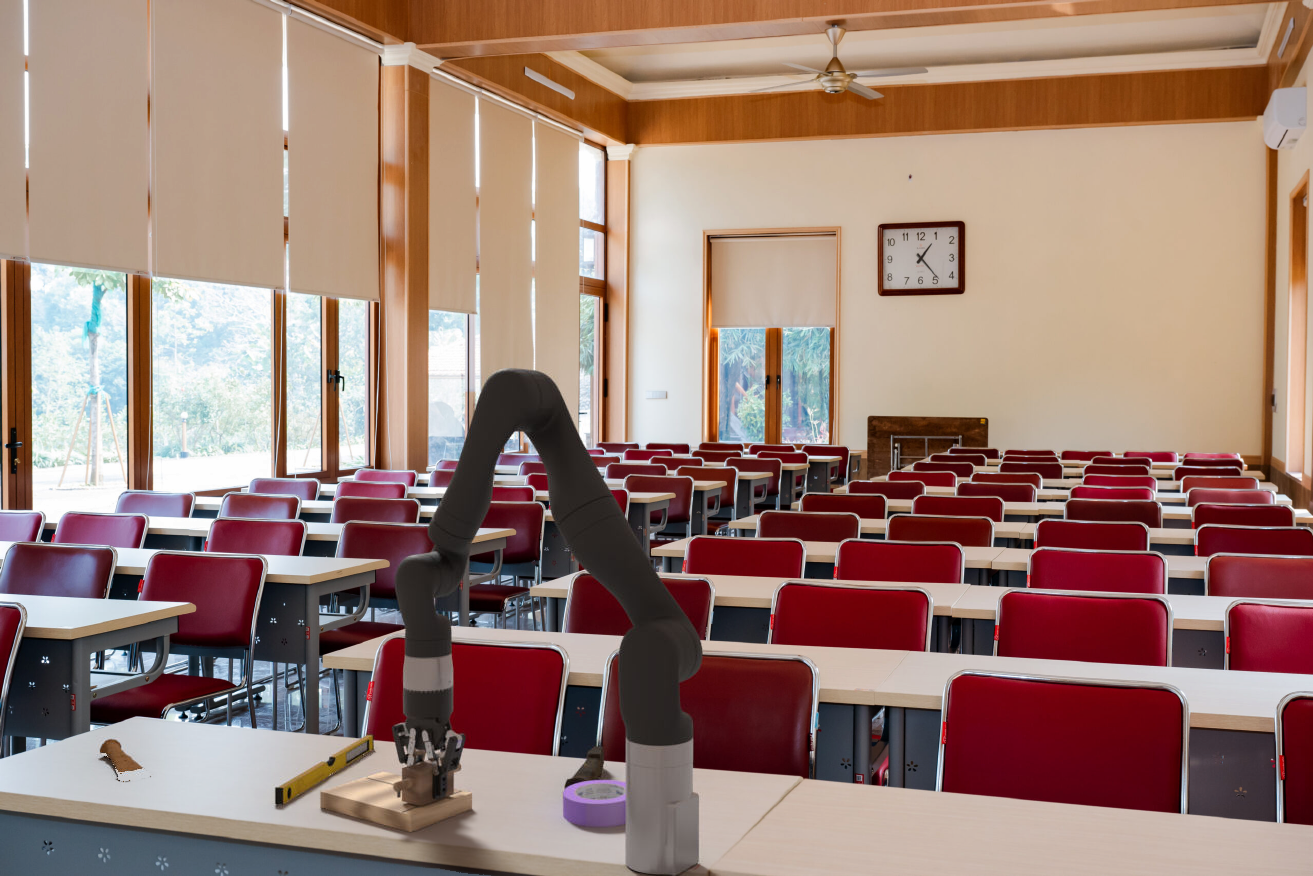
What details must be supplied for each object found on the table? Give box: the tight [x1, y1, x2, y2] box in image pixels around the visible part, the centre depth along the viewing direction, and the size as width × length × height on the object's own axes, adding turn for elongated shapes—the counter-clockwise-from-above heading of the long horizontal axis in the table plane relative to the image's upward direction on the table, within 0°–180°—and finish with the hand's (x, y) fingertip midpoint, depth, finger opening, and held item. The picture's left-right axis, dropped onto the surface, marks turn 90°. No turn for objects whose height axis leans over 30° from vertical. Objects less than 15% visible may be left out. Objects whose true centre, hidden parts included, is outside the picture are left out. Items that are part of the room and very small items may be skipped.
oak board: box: [319, 771, 473, 833], centre depth 184 cm, size 20×13×3 cm, turn 56°
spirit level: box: [274, 733, 375, 806], centre depth 202 cm, size 33×1×3 cm, turn 169°
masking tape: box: [562, 779, 626, 828], centre depth 181 cm, size 12×12×4 cm
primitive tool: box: [99, 738, 144, 774], centre depth 206 cm, size 19×6×4 cm, turn 41°
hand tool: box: [563, 745, 605, 791], centre depth 197 cm, size 19×4×5 cm, turn 168°
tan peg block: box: [393, 758, 462, 806], centre depth 180 cm, size 4×13×5 cm, turn 146°
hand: (428, 794), depth 180 cm, fingers closed on tan peg block, 4 cm apart
